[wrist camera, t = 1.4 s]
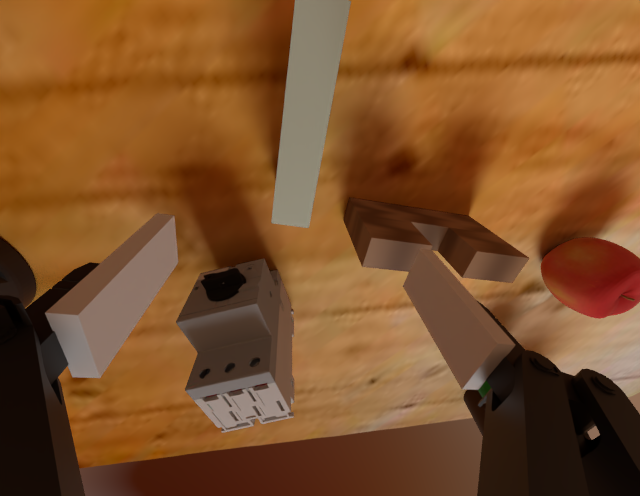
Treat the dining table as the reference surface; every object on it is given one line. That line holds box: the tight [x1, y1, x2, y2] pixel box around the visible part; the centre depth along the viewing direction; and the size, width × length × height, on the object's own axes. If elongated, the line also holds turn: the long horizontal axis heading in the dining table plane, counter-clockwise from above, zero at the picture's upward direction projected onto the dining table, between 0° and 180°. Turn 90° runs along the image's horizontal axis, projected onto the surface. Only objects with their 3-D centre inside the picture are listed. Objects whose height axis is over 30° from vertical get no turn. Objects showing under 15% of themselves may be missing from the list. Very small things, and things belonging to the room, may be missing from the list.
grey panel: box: [271, 0, 351, 228], centre depth 22 cm, size 14×3×10 cm, turn 169°
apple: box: [541, 237, 640, 318], centre depth 34 cm, size 10×10×10 cm
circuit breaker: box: [176, 258, 294, 433], centre depth 29 cm, size 8×14×15 cm, turn 12°
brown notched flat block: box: [344, 197, 529, 283], centre depth 29 cm, size 16×3×10 cm, turn 79°
